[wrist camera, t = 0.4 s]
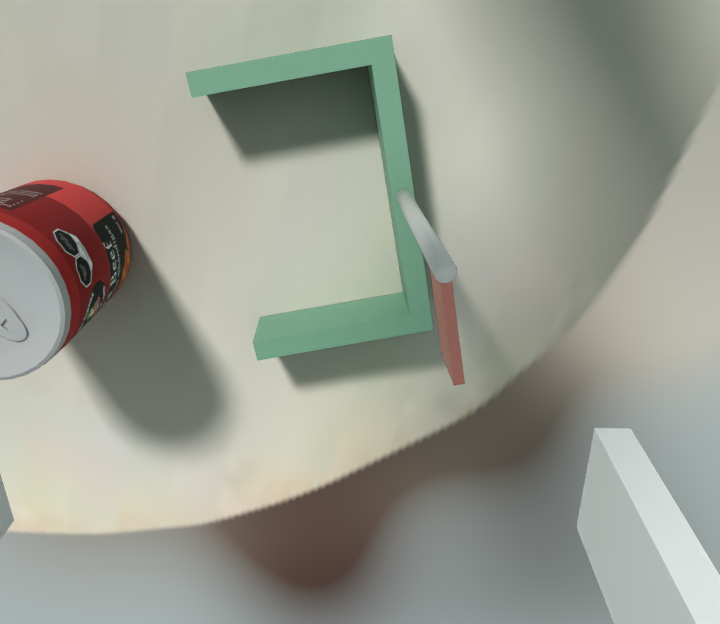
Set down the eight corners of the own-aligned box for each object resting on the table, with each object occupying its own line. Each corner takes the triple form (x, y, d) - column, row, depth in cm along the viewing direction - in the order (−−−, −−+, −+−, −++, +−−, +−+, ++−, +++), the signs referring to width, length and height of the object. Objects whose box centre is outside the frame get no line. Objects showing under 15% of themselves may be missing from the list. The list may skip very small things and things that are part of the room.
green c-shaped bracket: (200, 72, 36) (86, 75, 19) (385, 38, 36) (431, 10, 19) (264, 334, 42) (218, 513, 25) (424, 306, 42) (487, 468, 25)
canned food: (107, 323, 41) (32, 408, 31) (-18, 265, 40) (-141, 334, 29) (156, 218, 39) (92, 272, 29) (25, 152, 37) (-91, 184, 27)
